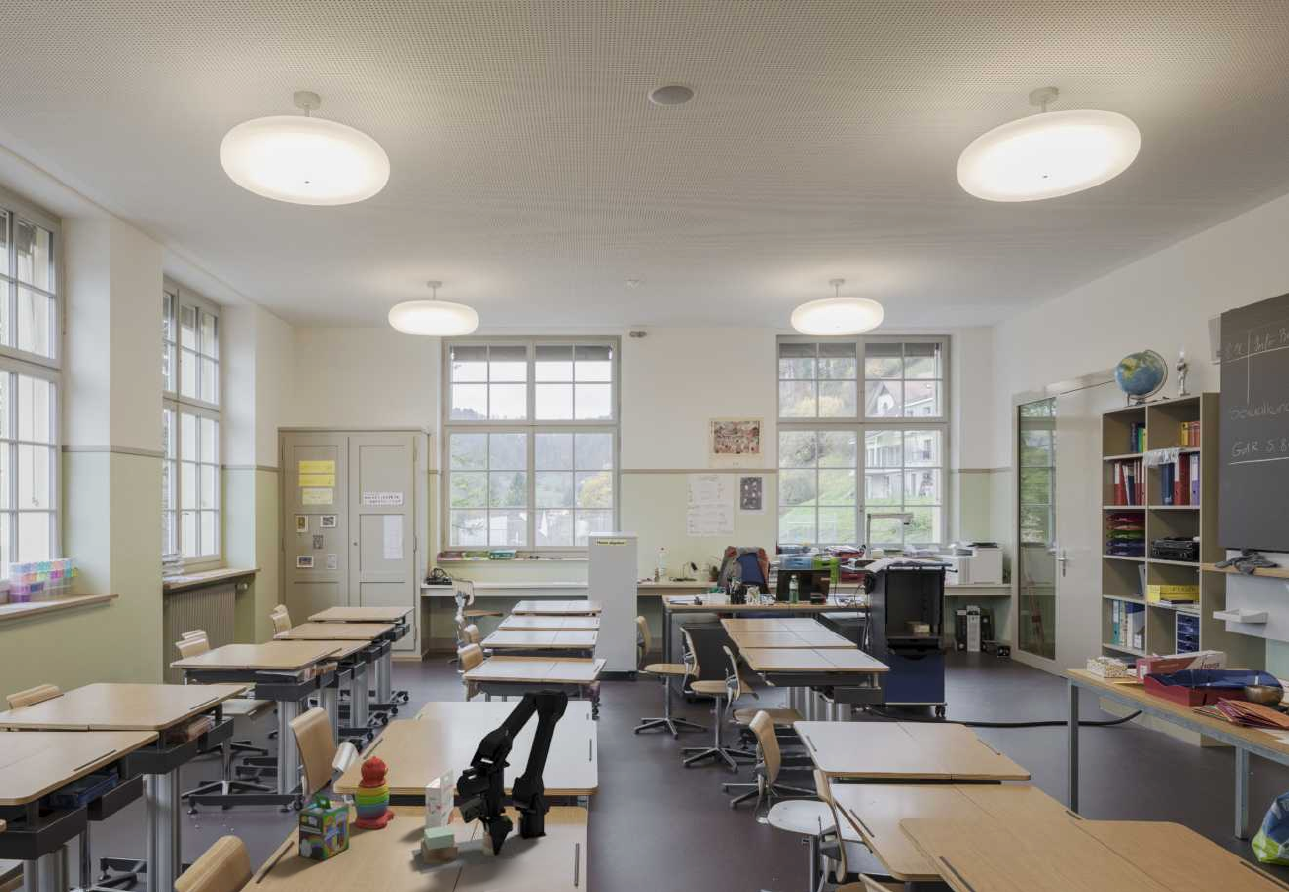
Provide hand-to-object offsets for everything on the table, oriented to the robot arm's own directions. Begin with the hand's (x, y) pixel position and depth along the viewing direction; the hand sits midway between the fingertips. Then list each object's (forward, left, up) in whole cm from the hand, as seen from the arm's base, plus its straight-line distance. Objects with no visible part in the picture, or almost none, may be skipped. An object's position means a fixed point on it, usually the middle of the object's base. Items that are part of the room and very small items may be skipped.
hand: (492, 849), depth 213 cm
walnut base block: (+13, -4, -1) cm, 14 cm away
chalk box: (+40, -20, -2) cm, 45 cm away
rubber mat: (+7, -3, -1) cm, 8 cm away
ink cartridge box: (+9, -26, -2) cm, 28 cm away
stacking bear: (+26, -36, -2) cm, 44 cm away
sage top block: (+13, -4, +2) cm, 14 cm away
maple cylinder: (0, 0, -1) cm, 1 cm away
